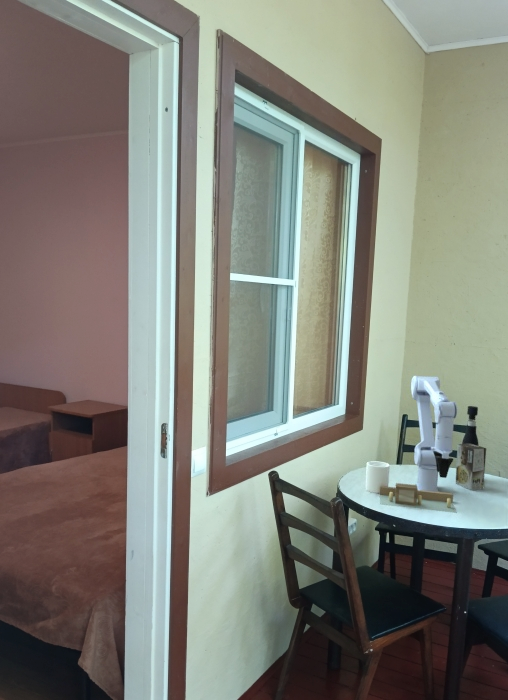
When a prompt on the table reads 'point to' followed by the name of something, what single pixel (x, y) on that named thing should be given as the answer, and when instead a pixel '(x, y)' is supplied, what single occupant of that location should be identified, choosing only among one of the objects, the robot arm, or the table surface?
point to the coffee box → (470, 466)
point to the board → (420, 499)
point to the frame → (406, 494)
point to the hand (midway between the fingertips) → (441, 474)
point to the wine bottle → (471, 427)
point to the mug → (376, 476)
